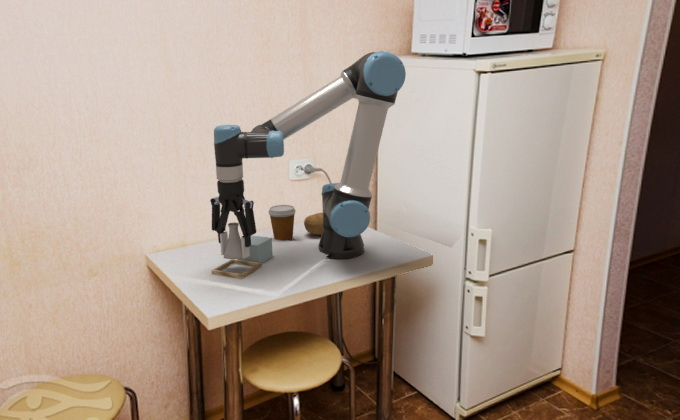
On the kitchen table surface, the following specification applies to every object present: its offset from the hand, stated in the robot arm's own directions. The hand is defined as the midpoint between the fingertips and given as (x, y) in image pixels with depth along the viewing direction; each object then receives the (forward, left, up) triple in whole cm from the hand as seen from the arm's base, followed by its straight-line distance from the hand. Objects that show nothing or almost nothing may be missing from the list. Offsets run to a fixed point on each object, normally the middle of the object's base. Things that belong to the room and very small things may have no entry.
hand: (235, 255), depth 168 cm
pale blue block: (0, -11, -5) cm, 12 cm away
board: (+3, -5, -6) cm, 9 cm away
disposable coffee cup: (+3, -33, -6) cm, 34 cm away
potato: (-6, -45, -6) cm, 46 cm away
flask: (0, 0, -1) cm, 1 cm away
